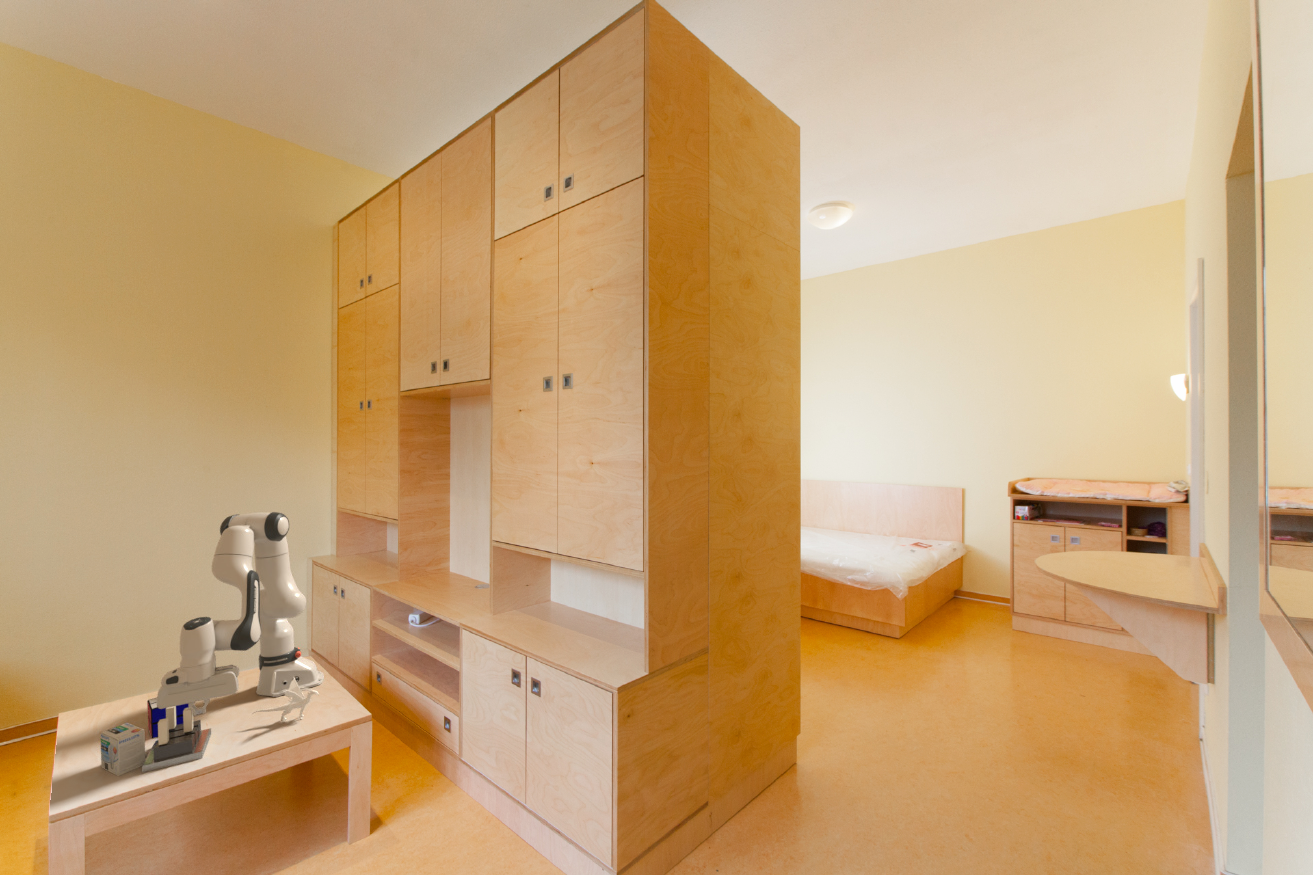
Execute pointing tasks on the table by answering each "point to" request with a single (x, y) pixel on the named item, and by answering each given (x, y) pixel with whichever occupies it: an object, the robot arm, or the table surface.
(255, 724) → the table surface
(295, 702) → the dragon
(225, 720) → the table surface
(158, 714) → the puzzle cube
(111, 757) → the light bulb box
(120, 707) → the table surface
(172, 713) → the handle
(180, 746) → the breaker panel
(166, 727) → the handle
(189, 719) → the handle
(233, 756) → the table surface
